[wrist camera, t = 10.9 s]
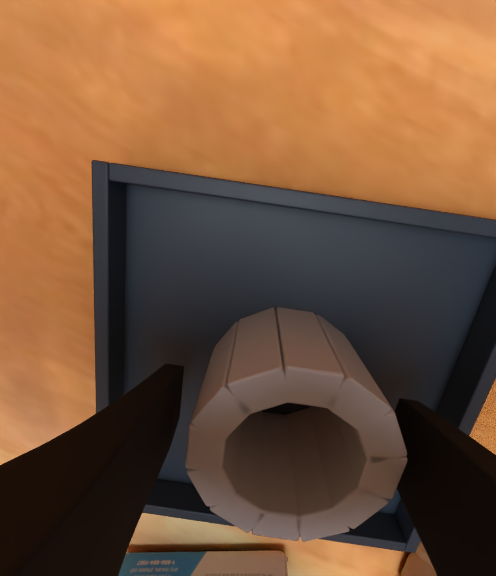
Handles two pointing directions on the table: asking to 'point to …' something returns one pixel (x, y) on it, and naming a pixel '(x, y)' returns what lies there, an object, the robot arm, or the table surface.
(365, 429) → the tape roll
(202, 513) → the tray
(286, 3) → the table surface
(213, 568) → the ink box
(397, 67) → the table surface
